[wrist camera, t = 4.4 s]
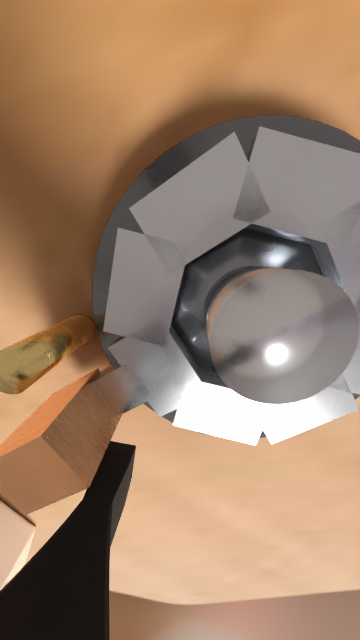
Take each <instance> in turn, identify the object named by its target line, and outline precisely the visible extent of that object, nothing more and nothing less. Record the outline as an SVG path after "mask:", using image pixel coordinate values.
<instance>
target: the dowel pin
mask: <svg viewBox="0 0 360 640" xmlns="http://www.w3.org/2000/svg"><path fill="white" fill-rule="evenodd" d="M94 330H95V329H94V324H93V322H92V321H91V320H90V319H89V318H88V317H87V316H85V315H81V314H76V315H73V316H71V317H69V318H67V319H65V320H63V321H61V322H59V323H57V324H55V325H53V326H50V327H48V328H46V329H44V330H42V331H40V332H38V333H36V334H34V335H32V336H30V337H28V338H26V339H24V340H21V341H19V342H17V343H15V344H13V345H11V346H9V347H7V348H5V349H3V350H1V351H0V391H1V392H3V393H7V394H18V393H21V392H23V391H24V390H25V389H27V388H28V387H29V386H31V385H32V384H33V383H34V382H36V381H37V380H38V379H39V378H41V377H42V376H43V375H44V374H46V373H47V372H48V371H50V370H51V369H52V368H53V367H55V366H56V365H57V364H58V363H60V362H61V361H62V360H63V359H65V358H66V357H67V356H69V355H70V354H71V353H72V352H74V351H75V350H76V349H77V348H79V347H80V346H81V345H82V344H84V343H85V342H86V341H88V340H89V339H90V338H91V337H92V336H93V334H94Z"/></svg>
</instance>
